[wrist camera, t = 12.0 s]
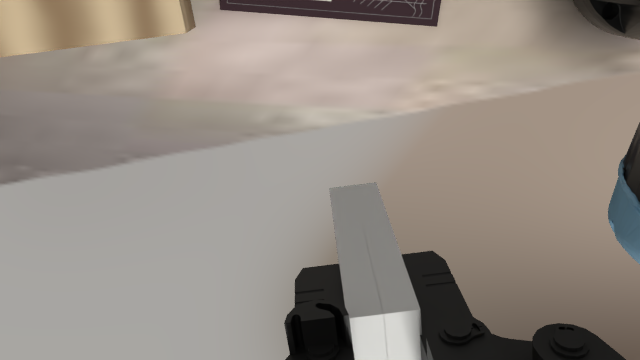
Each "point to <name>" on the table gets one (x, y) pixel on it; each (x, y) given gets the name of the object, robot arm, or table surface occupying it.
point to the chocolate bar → (346, 9)
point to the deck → (87, 22)
